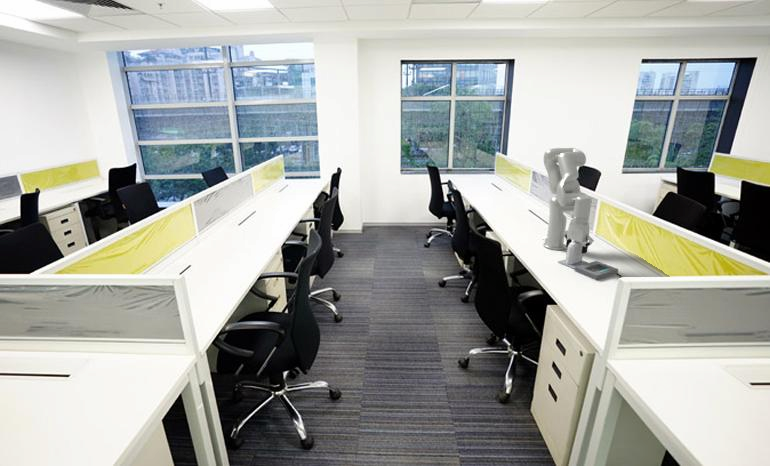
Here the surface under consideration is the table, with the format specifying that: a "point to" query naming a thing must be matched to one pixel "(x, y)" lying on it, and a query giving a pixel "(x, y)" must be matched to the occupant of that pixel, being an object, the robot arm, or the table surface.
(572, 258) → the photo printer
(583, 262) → the rubber mat
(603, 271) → the charging dock
